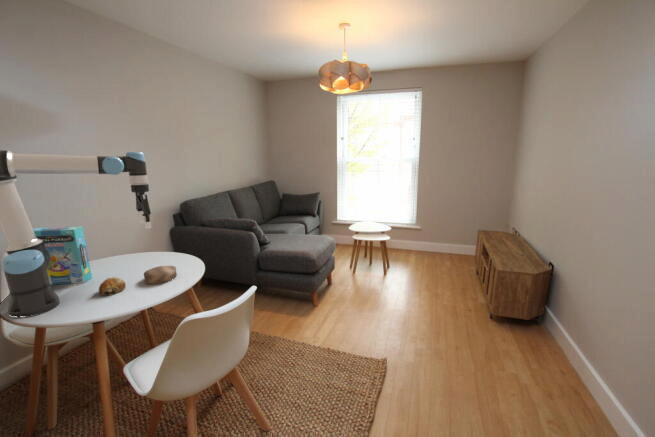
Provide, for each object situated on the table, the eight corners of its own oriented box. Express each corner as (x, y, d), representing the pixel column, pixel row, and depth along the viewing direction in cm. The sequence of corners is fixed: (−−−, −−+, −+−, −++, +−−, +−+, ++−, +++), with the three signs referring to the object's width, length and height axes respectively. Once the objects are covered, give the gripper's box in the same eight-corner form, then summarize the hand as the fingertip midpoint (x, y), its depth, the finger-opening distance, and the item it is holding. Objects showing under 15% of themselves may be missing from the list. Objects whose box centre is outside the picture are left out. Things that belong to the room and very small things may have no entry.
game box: (39, 285, 146) (25, 231, 140) (49, 280, 152) (37, 227, 146) (84, 283, 148) (73, 229, 142) (93, 278, 154) (82, 226, 148)
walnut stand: (148, 287, 142) (147, 279, 141) (142, 278, 153) (141, 270, 152) (180, 278, 151) (179, 271, 150) (172, 270, 162) (171, 263, 161)
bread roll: (129, 295, 143) (132, 277, 145) (112, 295, 133) (115, 277, 135) (110, 294, 144) (113, 277, 146) (91, 295, 134) (95, 276, 136)
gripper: (154, 185, 144) (159, 228, 148) (142, 181, 162) (148, 220, 166) (135, 186, 139) (142, 231, 143) (126, 182, 157) (132, 222, 162)
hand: (145, 225), depth 155 cm, fingers open, 13 cm apart
